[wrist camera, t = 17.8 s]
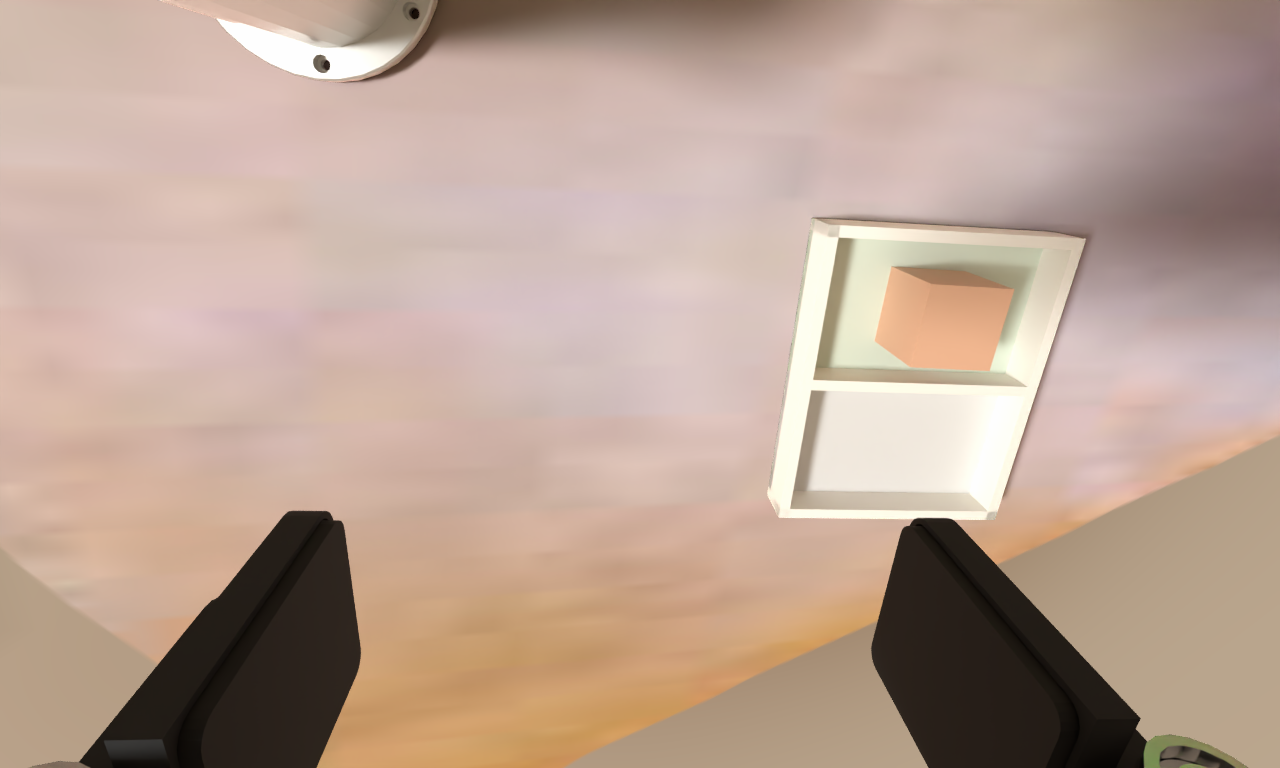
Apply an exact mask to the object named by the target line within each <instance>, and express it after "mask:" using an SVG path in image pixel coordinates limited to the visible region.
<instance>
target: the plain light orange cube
mask: <svg viewBox="0 0 1280 768" xmlns="http://www.w3.org/2000/svg"><path fill="white" fill-rule="evenodd" d="M1013 293H1014V289H1012V288H1010V287H1007V286H1004V285H1001V284H999V283H996V282H993V281H991V280H988V279H985V278H982V277H980V276H977V275H974V274H971V273H969V272H966V271H954V270H938V269H923V268H907V267H892V266H891V271H890V275H889V280H888V284H887V288H886V293H885V297H884V302H883V306H882V310H881V315H880V319H879V323H878V328H877V332H876V337H875V342H876V343H878V344H879V345H880V346H882V347H883V348H885V349H886V350H887V351H889V352H890V353H891V354H893V355H894V356H896V357H897V358H898V359H900V360H901V361H902V362H904V363H905V364H906V365H908V366H909V367H914V368H935V369H955V370H976V371H990V368H991V365H992V361H993V358H994V355H995V352H996V348H997V345H998V342H999V339H1000V335H1001V332H1002V329H1003V325H1004V322H1005V319H1006V316H1007V312H1008V309H1009V306H1010V303H1011V299H1012V296H1013Z"/></svg>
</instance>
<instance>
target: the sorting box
mask: <svg viewBox="0 0 1280 768" xmlns="http://www.w3.org/2000/svg"><path fill="white" fill-rule="evenodd" d="M1085 241H1086V239H1084V238H1080V237H1075V236H1070V235H1066V234H1061V233H1056V232H1050V231H1033V230H1015V229H998V228H980V227H962V226H945V225H927V224H910V223H892V222H875V221H857V220H839V219H822V218H812V220H811V226H810V233H809V239H808V245H807V251H806V257H805V263H804V270H803V276H802V282H801V288H800V294H799V301H798V307H797V313H796V319H795V325H794V332H793V338H792V344H791V350H790V356H789V363H788V369H787V375H786V381H785V387H784V394H783V400H782V406H781V412H780V418H779V424H778V431H777V437H776V443H775V449H774V455H773V462H772V468H771V474H770V480H769V486H768V493H767V495H768V497H769V499H770V501H771V503H772V505H773V507H774V509H775V511H776V513H777V515H778V517H779V518H863V519H916V518H950V519H956V520H995V518H996V514H997V511H998V508H999V505H1000V502H1001V499H1002V496H1003V493H1004V490H1005V487H1006V484H1007V481H1008V478H1009V475H1010V471H1011V468H1012V465H1013V462H1014V459H1015V456H1016V453H1017V450H1018V447H1019V444H1020V441H1021V438H1022V435H1023V432H1024V428H1025V425H1026V422H1027V419H1028V416H1029V413H1030V410H1031V407H1032V404H1033V401H1034V398H1035V395H1036V392H1037V389H1038V386H1039V382H1040V379H1041V376H1042V373H1043V370H1044V367H1045V364H1046V361H1047V358H1048V355H1049V352H1050V349H1051V346H1052V343H1053V339H1054V336H1055V333H1056V330H1057V327H1058V324H1059V321H1060V318H1061V315H1062V312H1063V309H1064V306H1065V303H1066V300H1067V296H1068V293H1069V290H1070V287H1071V284H1072V281H1073V278H1074V275H1075V272H1076V269H1077V266H1078V263H1079V260H1080V257H1081V254H1082V250H1083V247H1084V244H1085ZM891 266H892V267H907V268H923V269H938V270H954V271H966V272H969V273H971V274H974V275H977V276H980V277H982V278H985V279H988V280H991V281H993V282H996V283H999V284H1001V285H1004V286H1007V287H1010V288H1012V289H1014V293H1013V296H1012V299H1011V303H1010V306H1009V309H1008V312H1007V316H1006V319H1005V322H1004V325H1003V329H1002V332H1001V335H1000V339H999V342H998V345H997V348H996V352H995V355H994V358H993V361H992V365H991V368H990V371H976V370H955V369H935V368H914V367H909V366H908V365H906V364H905V363H904V362H902V361H901V360H900V359H898V358H897V357H896V356H894V355H893V354H891V353H890V352H889V351H887V350H886V349H885V348H883V347H882V346H880V345H879V344H878V343H876V342H875V337H876V332H877V328H878V323H879V319H880V315H881V310H882V306H883V302H884V297H885V293H886V288H887V284H888V280H889V275H890V271H891Z"/></svg>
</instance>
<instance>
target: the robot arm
mask: <svg viewBox="0 0 1280 768" xmlns="http://www.w3.org/2000/svg"><path fill="white" fill-rule="evenodd" d="M158 1H161V2H164V3H168V4H171V5H174V6H177V7H181V8H184V9H187V10H190V11H194V12H197V13H200V14H203V15H207V16H210V17H213V18H215V19H216V20H217V21H218V22H219V24H220V25H221V26H222V27H223V28H224V30H225V31H226V32H227V33H228V34H229V35H231V36H232V37H233V38H234V39H235V40H236V41H237V42H239V43H240V44H241V45H242V46H243V47H244V48H245V49H247V50H248V51H249V52H251V53H252V54H254V55H255V56H257V57H259V58H260V59H262V60H263V61H265V62H267V63H268V64H270V65H271V66H274V67H276V68H279V69H281V70H283V71H286V72H288V73H291V74H293V75H296V76H300V77H304V78H308V79H312V80H319V81H327V82H348V81H359V80H362V79H365V78H369V77H372V76H375V75H378V74H380V73H382V72H384V71H386V70H387V69H389V68H391V67H393V66H394V65H396V64H398V63H399V62H400V61H401V60H402V59H403V58H404V57H405V56H406V55H408V54H409V53H410V52H411V51H412V50H413V49H414V48H415V46H416V45H417V44H418V42H419V41H420V39H421V38H422V36H423V35H424V33H425V32H426V31H427V29H428V26H429V24H430V22H431V19H432V17H433V15H434V12H435V10H436V8H437V3H438V0H158ZM413 9H418V10H419V13H420V14H419V17H418V18H417V19H413V18H412V16H411V12H412V10H413ZM327 60H328V61H329V62H330V64H331V65H330V70H328V71H327V70H326V69H325V68H324V62H325V61H327ZM871 649H872V650H871V651H872V659H873V663H874V666H875V668H876V670H877V672H878V674H879V676H880V678H881V679H882V681H883V683H884V685H885V687H886V689H887V691H888V692H889V694H890V696H891V698H892V700H893V702H894V704H895V705H896V707H897V709H898V711H899V713H900V715H901V717H902V719H903V721H904V723H905V724H906V726H907V728H908V730H909V732H910V734H911V736H912V737H913V739H914V741H915V743H916V745H917V747H918V749H919V751H920V753H921V754H922V756H923V758H924V760H925V762H926V764H927V766H928V767H929V768H1248V767H1247V766H1245V765H1244V764H1242V763H1241V762H1239V761H1238V760H1236V759H1235V758H1233V757H1232V756H1230V755H1228V754H1226V753H1224V752H1222V751H1220V750H1218V749H1216V748H1214V747H1212V746H1210V745H1208V744H1205V743H1202V742H1199V741H1197V740H1193V739H1191V738H1188V737H1182V736H1176V735H1162V736H1155V737H1154V738H1152V739H1151V740H1149V741H1148V742H1147V741H1146V740H1145V739H1144V738H1143V737H1142V736H1141V734H1140V733H1139V732H1138V731H1137V730H1136V727H1137V725H1138V722H1139V721H1140V717H1139V716H1138V715H1137V714H1136V713H1135V712H1134V711H1133V710H1132V709H1131V708H1130V707H1129V706H1128V705H1127V703H1126V702H1125V701H1123V699H1121V697H1120V696H1119V695H1118V694H1117V693H1116V692H1115V691H1114V690H1113V689H1112V688H1111V687H1110V685H1108V683H1107V682H1106V681H1105V680H1104V679H1103V678H1102V677H1101V676H1100V675H1099V674H1098V673H1097V672H1096V671H1095V670H1094V668H1093V667H1091V665H1090V664H1089V663H1088V662H1087V661H1086V660H1085V659H1084V658H1083V657H1082V656H1081V655H1080V654H1079V652H1078V651H1077V650H1076V649H1075V648H1074V647H1073V646H1072V645H1071V644H1070V643H1069V642H1068V641H1067V640H1066V639H1065V638H1064V637H1063V636H1062V635H1061V633H1060V632H1059V631H1058V630H1057V629H1056V628H1055V627H1054V626H1053V625H1052V624H1051V623H1050V622H1049V621H1048V620H1047V618H1045V616H1044V615H1043V614H1042V613H1041V612H1040V611H1039V610H1038V609H1037V608H1036V607H1035V606H1034V605H1033V604H1032V603H1031V601H1030V600H1029V599H1028V598H1027V597H1026V596H1025V595H1024V594H1023V593H1022V592H1021V591H1020V590H1019V589H1018V588H1017V587H1016V585H1015V584H1014V583H1013V582H1012V581H1011V580H1010V579H1009V578H1008V577H1007V576H1006V575H1005V574H1004V573H1003V572H1002V571H1001V570H1000V569H999V567H998V566H997V565H996V564H995V563H994V562H993V561H992V560H991V559H990V558H989V557H988V556H987V555H986V554H985V552H984V551H983V550H982V549H981V548H980V547H979V546H978V545H977V544H976V543H975V542H974V541H973V540H972V539H971V538H970V537H969V535H968V534H967V533H966V532H965V531H964V530H963V529H962V528H961V527H960V526H959V525H958V524H957V523H956V522H955V521H954V520H952V519H950V518H916V519H914V520H913V521H912V522H911V524H910V526H906V527H904V528H903V530H902V532H901V535H900V539H899V542H898V546H897V550H896V554H895V558H894V561H893V565H892V569H891V573H890V577H889V581H888V584H887V588H886V592H885V596H884V600H883V603H882V607H881V611H880V615H879V619H878V623H877V627H876V630H875V634H874V638H873V642H872V648H871ZM360 657H361V647H360V640H359V633H358V625H357V618H356V611H355V603H354V596H353V589H352V581H351V574H350V567H349V559H348V552H347V545H346V537H345V530H344V525H343V523H342V522H341V521H335V520H333V518H332V516H331V514H330V513H329V512H327V511H289V512H287V513H286V514H285V515H284V516H283V517H282V519H281V520H280V521H279V522H278V524H277V525H276V526H275V527H274V529H273V530H272V531H271V532H270V534H269V535H268V536H267V537H266V539H265V540H264V541H263V542H262V544H261V545H260V546H259V547H258V549H257V550H256V551H255V552H254V553H253V555H252V556H251V557H250V558H249V560H248V561H247V562H246V563H245V565H244V566H243V567H242V568H241V570H240V571H239V572H238V573H237V575H236V576H235V577H234V578H233V580H232V581H231V582H230V583H229V585H228V586H227V587H226V588H225V590H224V591H223V592H222V593H221V595H220V596H219V597H218V598H216V599H214V600H212V601H211V602H210V603H209V604H208V605H207V606H206V607H205V608H204V609H203V610H202V611H201V613H200V614H199V615H198V616H197V617H196V619H195V620H194V621H193V622H192V624H191V625H190V626H189V627H188V628H187V630H186V631H185V632H184V633H183V635H182V636H181V637H180V638H179V640H178V641H177V642H176V643H175V644H174V646H173V647H172V648H171V649H170V651H169V652H168V653H167V654H166V656H165V657H164V658H163V659H162V660H161V662H160V663H159V664H158V665H157V667H156V668H155V669H154V670H153V672H152V673H151V674H150V675H149V676H148V678H147V679H146V680H145V681H144V683H143V684H142V685H141V686H140V688H139V689H138V690H137V691H136V692H135V694H134V695H133V696H132V698H131V699H130V700H129V701H128V703H127V704H126V705H125V706H124V707H123V708H122V710H121V711H120V712H119V713H118V715H117V716H116V717H115V718H114V719H113V721H112V722H111V723H110V724H109V726H108V727H107V728H106V730H105V731H104V732H103V733H102V734H101V736H100V737H99V738H98V739H97V740H96V742H95V743H94V744H93V745H92V747H91V748H90V749H89V750H88V752H87V753H86V754H85V755H84V756H83V758H82V759H81V760H80V761H79V762H63V761H58V762H52V763H48V764H42V765H37V766H32V767H30V768H316V767H317V765H318V763H319V760H320V758H321V756H322V754H323V751H324V749H325V747H326V744H327V742H328V740H329V737H330V735H331V733H332V730H333V728H334V726H335V723H336V721H337V719H338V716H339V714H340V712H341V709H342V707H343V705H344V703H345V700H346V698H347V696H348V693H349V691H350V689H351V686H352V684H353V682H354V679H355V677H356V675H357V672H358V668H359V664H360Z"/></svg>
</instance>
